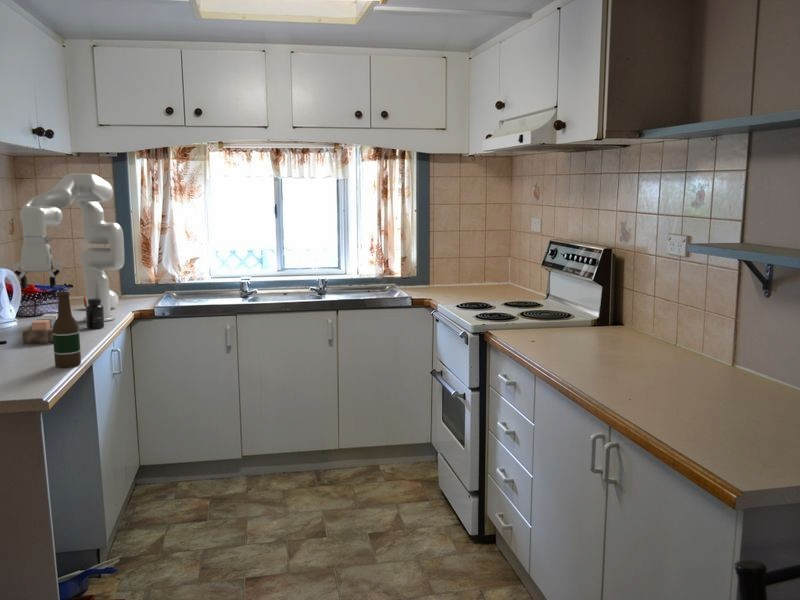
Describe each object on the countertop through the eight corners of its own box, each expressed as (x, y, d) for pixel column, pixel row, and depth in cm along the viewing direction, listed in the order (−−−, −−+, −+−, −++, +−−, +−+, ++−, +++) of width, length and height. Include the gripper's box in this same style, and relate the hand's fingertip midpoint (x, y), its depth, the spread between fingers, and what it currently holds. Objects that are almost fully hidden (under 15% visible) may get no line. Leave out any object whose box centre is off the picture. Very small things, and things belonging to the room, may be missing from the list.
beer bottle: (49, 367, 226) (44, 293, 222) (65, 362, 234) (60, 289, 230) (71, 368, 225) (66, 294, 221) (86, 363, 232) (81, 290, 229)
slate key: (40, 327, 272) (40, 317, 272) (55, 326, 273) (54, 316, 273) (37, 329, 268) (36, 319, 267) (51, 329, 269) (51, 318, 268)
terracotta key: (35, 330, 266) (35, 320, 265) (50, 330, 267) (49, 319, 266) (32, 333, 261) (31, 322, 260) (46, 332, 262) (46, 322, 261)
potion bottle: (120, 312, 339) (87, 316, 337) (122, 298, 346) (90, 302, 344) (114, 298, 332) (81, 302, 330) (116, 284, 339) (84, 288, 337)
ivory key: (45, 324, 279) (45, 314, 278) (59, 323, 280) (58, 313, 280) (42, 326, 274) (41, 316, 274) (56, 325, 275) (55, 315, 275)
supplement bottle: (98, 329, 288) (96, 300, 287) (83, 329, 290) (81, 300, 288) (108, 326, 295) (106, 298, 293) (93, 325, 296) (91, 297, 295)
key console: (23, 344, 260) (22, 331, 259) (38, 333, 280) (37, 321, 279) (55, 343, 262) (54, 330, 261) (68, 332, 282) (68, 320, 282)
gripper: (63, 240, 264) (66, 286, 267) (12, 240, 260) (16, 287, 263) (58, 241, 257) (61, 288, 260) (6, 241, 253) (9, 289, 256)
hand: (38, 287), depth 261 cm, fingers open, 8 cm apart
